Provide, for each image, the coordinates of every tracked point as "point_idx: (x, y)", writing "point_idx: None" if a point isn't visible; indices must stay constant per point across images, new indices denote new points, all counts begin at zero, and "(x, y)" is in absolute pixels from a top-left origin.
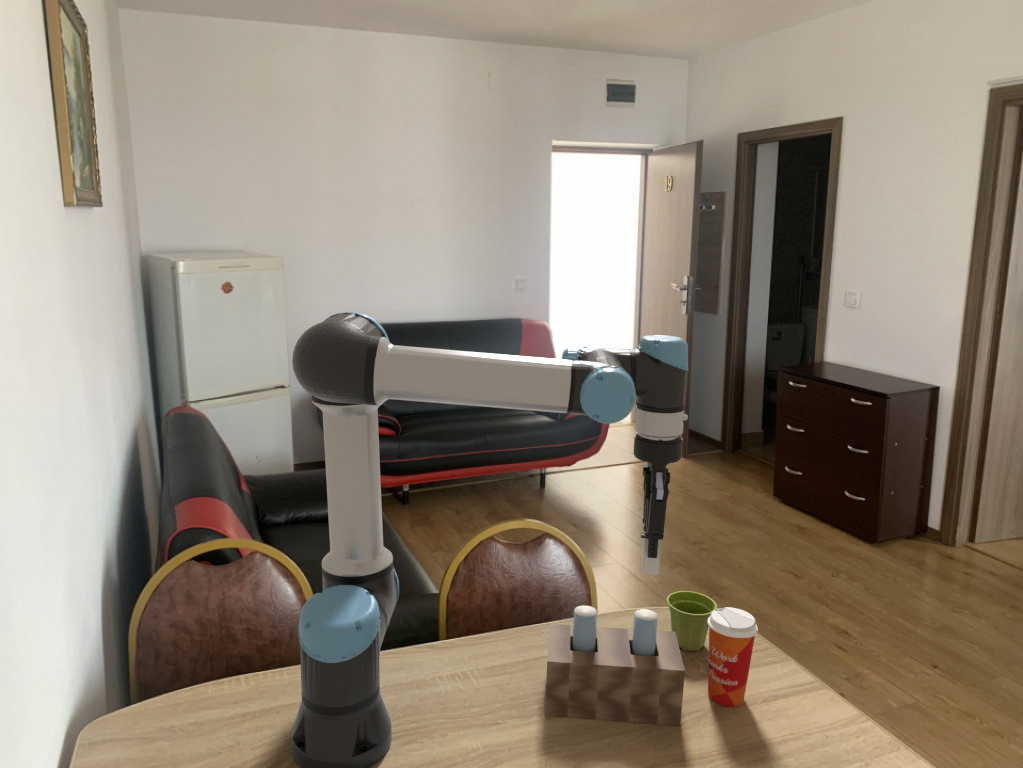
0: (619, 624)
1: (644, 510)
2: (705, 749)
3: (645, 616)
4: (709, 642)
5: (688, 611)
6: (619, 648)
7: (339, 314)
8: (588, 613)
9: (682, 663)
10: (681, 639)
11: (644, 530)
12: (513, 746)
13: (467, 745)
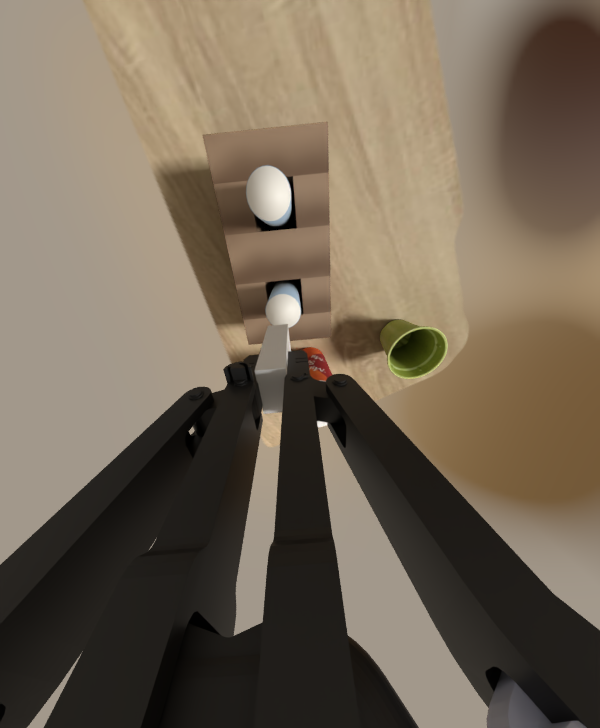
0: (438, 258)
1: (345, 410)
2: (234, 340)
3: (276, 311)
4: (311, 371)
5: (426, 344)
6: (276, 265)
7: None
8: (260, 202)
9: (262, 342)
10: (386, 331)
11: (289, 375)
12: (157, 125)
13: (126, 35)
